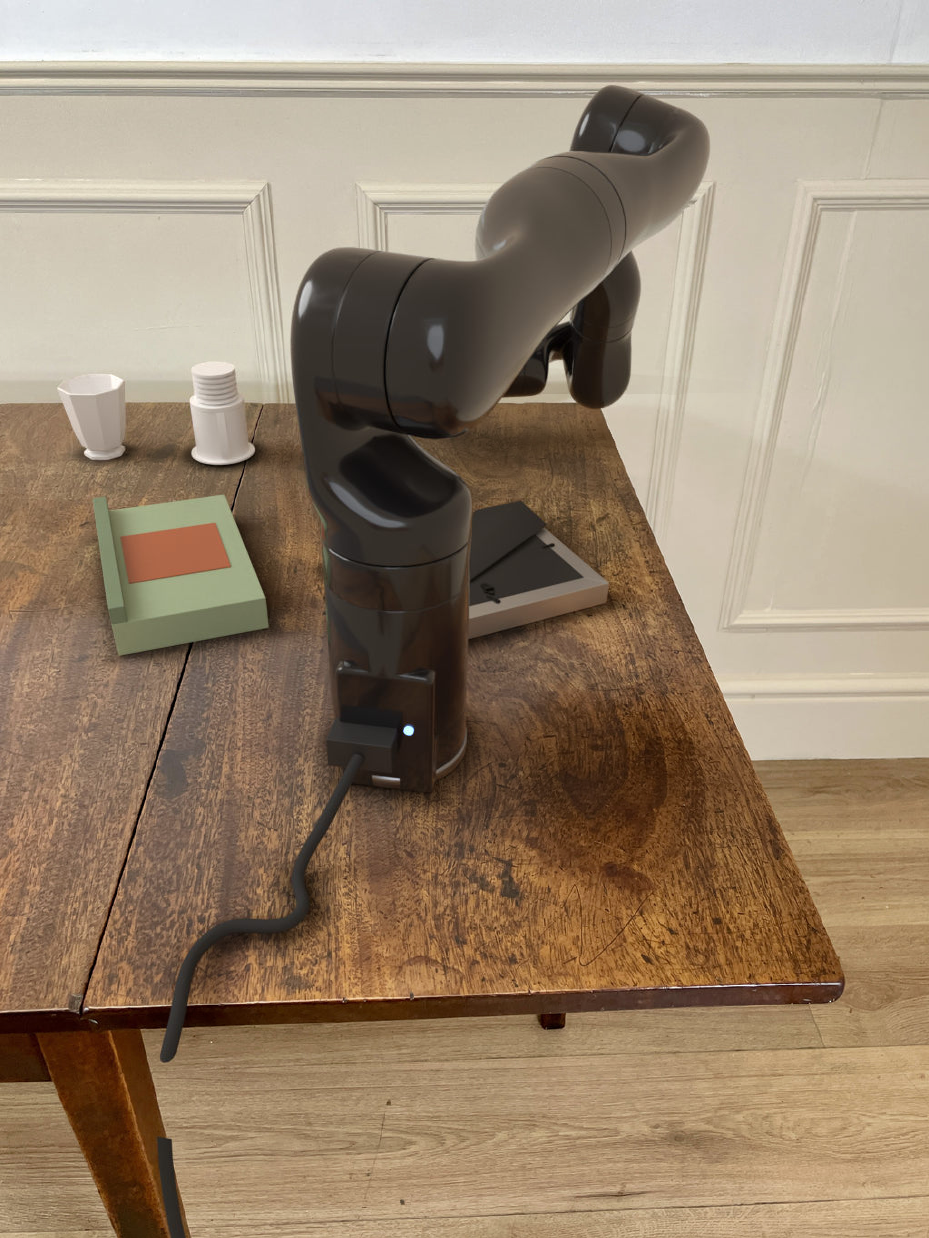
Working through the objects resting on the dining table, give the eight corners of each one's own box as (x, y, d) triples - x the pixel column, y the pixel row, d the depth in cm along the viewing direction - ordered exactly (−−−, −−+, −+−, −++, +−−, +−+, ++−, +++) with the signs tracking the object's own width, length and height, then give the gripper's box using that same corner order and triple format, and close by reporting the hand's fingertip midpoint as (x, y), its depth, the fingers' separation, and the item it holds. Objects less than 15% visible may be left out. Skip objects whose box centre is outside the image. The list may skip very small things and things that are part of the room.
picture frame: (519, 525, 95) (322, 568, 87) (521, 500, 93) (321, 541, 85) (606, 603, 83) (388, 660, 75) (610, 575, 81) (387, 631, 74)
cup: (75, 469, 103) (59, 398, 99) (67, 435, 111) (52, 368, 106) (141, 460, 105) (129, 390, 101) (129, 427, 113) (117, 361, 109)
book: (227, 521, 94) (222, 480, 91) (268, 627, 79) (263, 582, 76) (101, 540, 90) (92, 498, 88) (118, 656, 75) (107, 608, 72)
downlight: (189, 443, 110) (177, 359, 104) (250, 437, 111) (241, 354, 106) (194, 472, 103) (181, 383, 98) (259, 465, 105) (250, 378, 99)
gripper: (444, 317, 111) (305, 322, 108) (468, 356, 99) (314, 363, 96) (444, 379, 115) (310, 385, 112) (467, 423, 103) (318, 432, 101)
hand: (312, 375), depth 104 cm, fingers open, 8 cm apart
